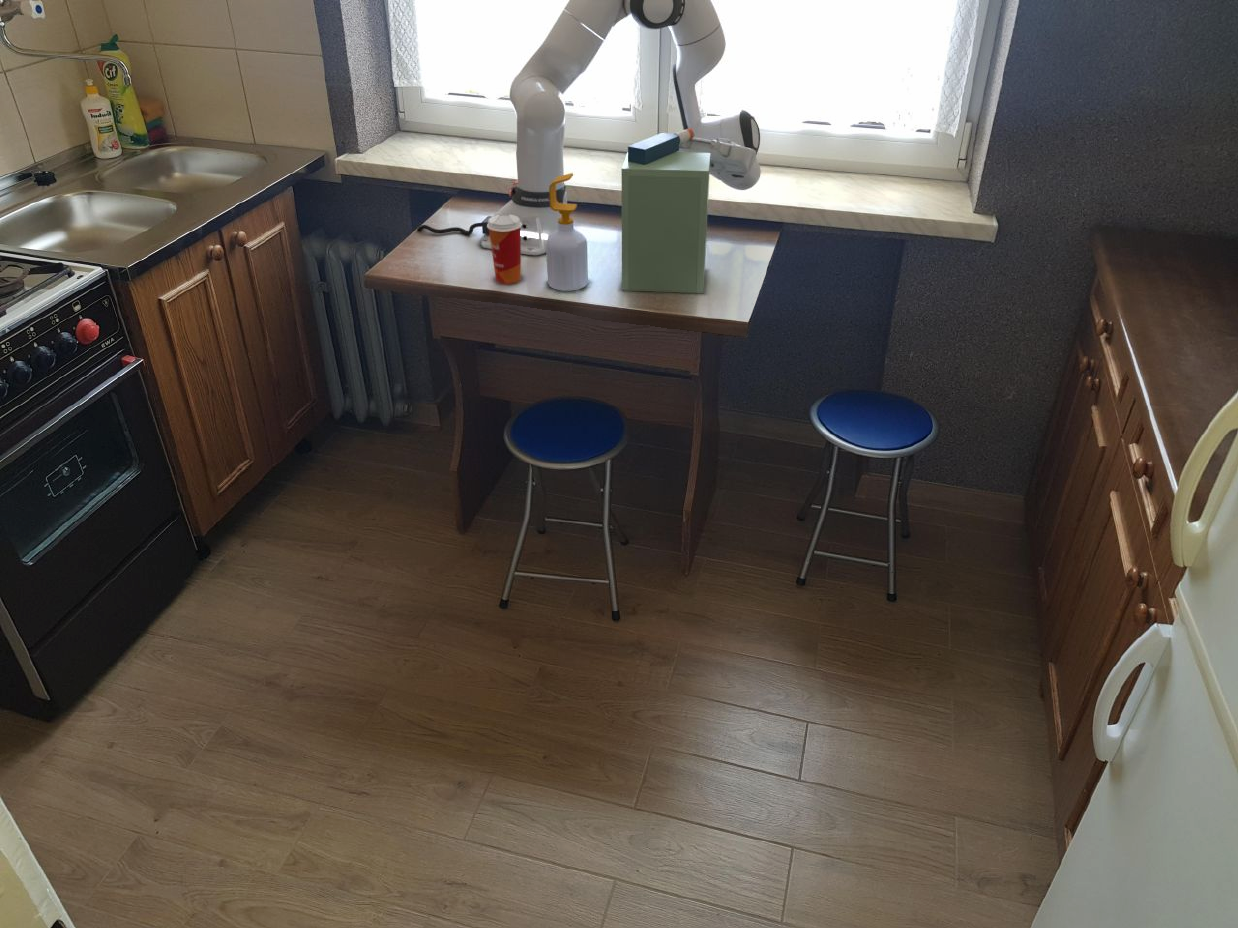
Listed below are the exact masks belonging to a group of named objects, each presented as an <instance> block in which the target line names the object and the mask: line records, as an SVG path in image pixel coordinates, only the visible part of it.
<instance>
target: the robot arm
mask: <svg viewBox="0 0 1238 928" xmlns="http://www.w3.org/2000/svg"><path fill="white" fill-rule="evenodd" d="M627 18H628V19H629V20H630V21H631V22H633V23H634V24H636V25H638V26H640V27H641V28H643V29H646V30H660V29H663V28H669V30H670V32H671V35H672V38H673V41H674V43H675V46H676V51H677V60H676V61H675V62H674V63H673V65H672V81H673V87H674V92H675V98H676V102H677V106H678V111H679V115H680V116H679V117H680V121H681V125H682V131H683V130H685V129H688V128H690V129H692V130H693V132H694V137H693V138H692V139H691V140H688V141H686V142H683V143H681V144H679V151H677V152H691V153H710V174H709V175H710V176H712V177H714V178H715V179H717V180H718V181H721V182H722V183H723V184H725V185H726V186H728V187H730V188H732V189H734V190H738V191H746V190H749V189H751V188H753V187H754V186H756V184H757V183H758V181H759V180H760V177H761V175H762V171H761V166H760V163H759V161H758V159H757V154H758V152H759V149H760V146H761V131H760V126H759V124H758V122H757V120H756V119H755V118H754V116H752V114H750V113H749V112H748V111H746V110H744V109H741V110H738V111H737V110H736V111H732V112H729V113H724V114H722V115H718V116H714V117H711V118H710V117H709V118H704V117H702V116H701V112H700V111H701V110H700V106H699V101H698V97H697V92H696V84H697V83H698V82H699V81H700V80H701V79H703V78H704V77H705V76H707V75H708V74H709V73H710V72H712V70H713V69H714V68H716V67H717V65H718V64H719V63H720V61H721V60H722V58H723V57H724V54H725V51H726V38H725V37H726V36H725V33H724V29H723V27H722V24H721V21H720V18H719V16H718V12H717V11H716V9H715V7H714V5H713V2H712V0H568V1H567V4H566V5H565V7H564V8H563V10H562V11H561V13H560V15H559V16H558V18H557V20H556V21H555V23H554V25H553V26H552V28H551V29H550V31H549V33H548V34H547V36H546V37H545V39H544V40H543V42H542V43H541V44H540V46H539V47H538V48H537V50H535V52H534V53H533V54H532V56H531V57H530V58H529V60H528V61H527V62H526V63H525V64H524V66H523V67H522V69H521V70H520V71H519V72H518V74H517V75H516V76H515V77H514V78H513V80H512V82H511V84H510V88H509V101H510V104H511V106H512V108H513V110H514V113H515V117H516V150H515V157H516V171H517V173H516V174H517V180H515V182H513V184H512V187H511V188H510V191H509V192H508V194H509V197H510V198H511V199H510V200H509V201H508V202H507V203H505V205H503V206H502V207H501V208H499V209H498V210H497V211H496V212H495V213H494V214H493V215H488V216H487V217H485V218H484V219H483V220H482V221H481V222H475V223H473V224H471V225H470V226H469V229H468V230H466V229H464V228H462V227H457V226H455V227H447V228H442V229H441V228H439V229H437V228H433V227H431V226H430V225H427V224H422V225H420V226H419V227H418V228H417V229H416V231H417V232H422V230H427V231H429V232H431V233H434V234H446V233H447V234H449V233H453V232H459V233H462V234H463V235H466V236H470V235H472V234H473V233H474V229H476V228H481V232H482V234H483V235H482V237H481V247H483V248H484V249H488V250H492V248H491V241H490V234H489V229H488V228H487V224H488V221H489V219H490V218H491V217H493V216H497V215H499V216H502V215H507V216H509V215H514V216H517V217H518V218H519V219H520V222H521V223H522V226H521V255H522V254H523V255H527V256H528V255H529V256H540V255H543V254H546V242H547V238H548V237H549V236H550V235H551V234H552V233H553V232H555V231H557V230H558V219H559V218H562V214H560V213H559V211H554V210H552V209H551V207H550V196H549V186H550V185H551V183H552V182H553V181H554V180H555V179H556V178H557V177H559V176H562V175H565V174H564V173H565V172H564V143H565V132H566V131H565V130H566V101H565V97H564V94H565V93H566V92H567V90H568V89H569V88H570V87H571V86H572V85H573V84H574V83H575V82H576V80H578V78H579V77H580V76H581V75H584V73H585V72H586V71H587V70H588V68H589V67H590V65H591V63H592V62H593V61H594V58H595V57H596V56H597V54H598V52H599V51H600V49H601V47H602V46H603V45H604V43H605V41H606V39H607V38H608V36H609V34H610V33H611V31H612V29H613V28H614V27H615V26H616V25H617V24H618V23H620V22H621V21H622V20H624V19H627ZM556 199H557V201H558V203H567V204H568V192H567V185H566V183H565V181H564V182H561V183H557V184H556Z"/></svg>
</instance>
